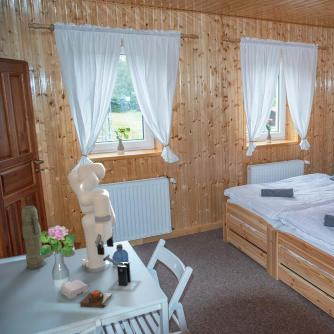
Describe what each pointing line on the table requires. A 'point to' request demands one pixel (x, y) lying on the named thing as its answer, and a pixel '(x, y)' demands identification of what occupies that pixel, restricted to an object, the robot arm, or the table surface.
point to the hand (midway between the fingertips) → (105, 250)
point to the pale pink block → (73, 288)
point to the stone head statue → (32, 237)
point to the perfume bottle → (120, 255)
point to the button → (95, 293)
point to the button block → (95, 300)
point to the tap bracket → (124, 274)
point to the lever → (113, 261)
